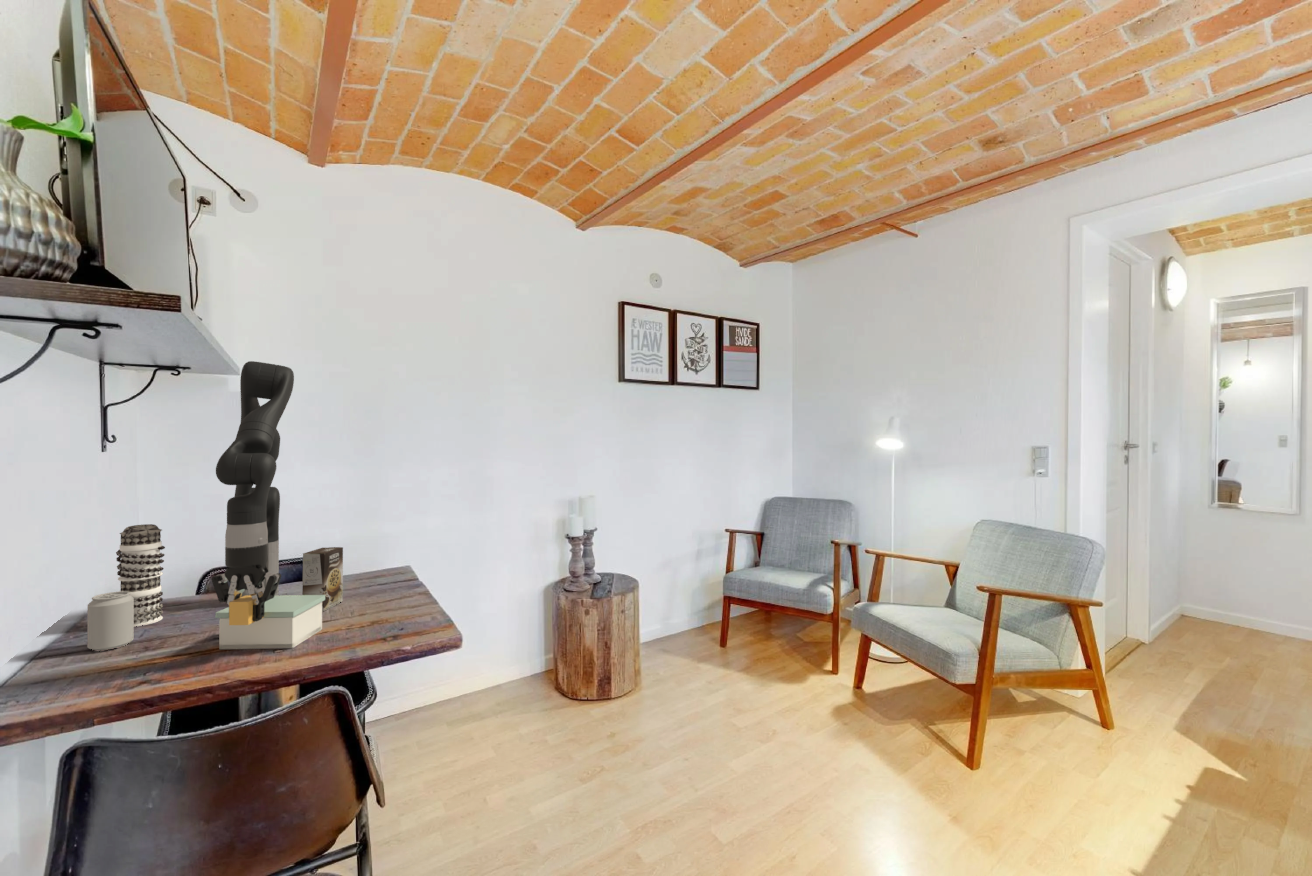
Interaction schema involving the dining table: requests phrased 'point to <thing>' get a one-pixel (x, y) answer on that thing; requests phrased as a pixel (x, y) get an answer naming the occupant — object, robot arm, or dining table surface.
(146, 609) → the decorative candle
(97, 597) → the can
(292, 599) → the lid
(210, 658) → the dining table surface
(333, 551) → the coffee box
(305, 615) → the tub
